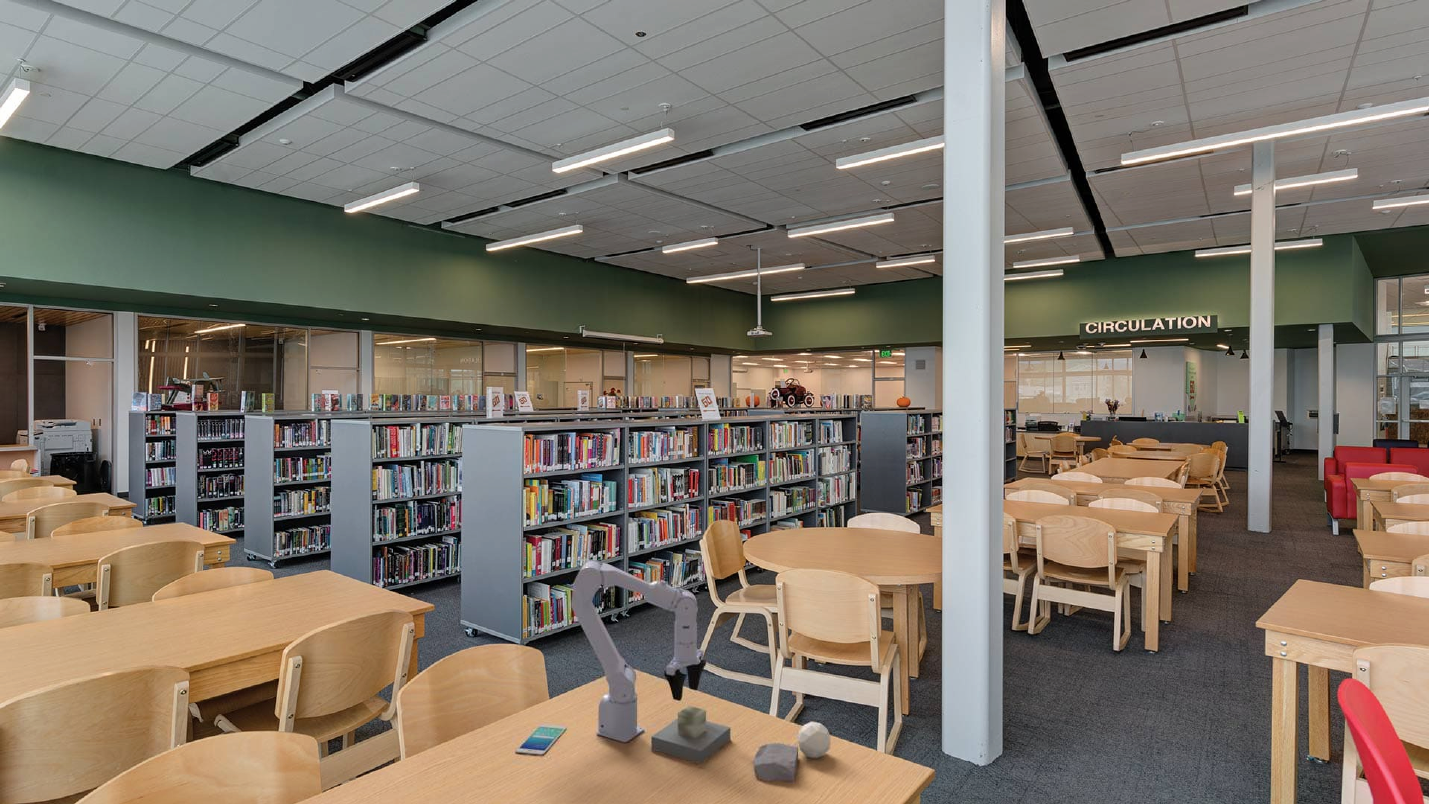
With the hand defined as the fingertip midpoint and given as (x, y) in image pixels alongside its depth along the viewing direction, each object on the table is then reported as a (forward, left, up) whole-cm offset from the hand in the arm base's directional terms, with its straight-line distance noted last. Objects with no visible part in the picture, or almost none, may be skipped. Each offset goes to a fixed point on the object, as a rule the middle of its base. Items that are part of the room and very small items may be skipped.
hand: (685, 694), depth 180 cm
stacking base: (+5, -5, -9) cm, 12 cm away
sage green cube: (+5, -5, -6) cm, 10 cm away
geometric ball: (+33, +5, -10) cm, 35 cm away
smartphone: (-28, -22, -10) cm, 37 cm away
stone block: (+27, -5, -10) cm, 29 cm away
